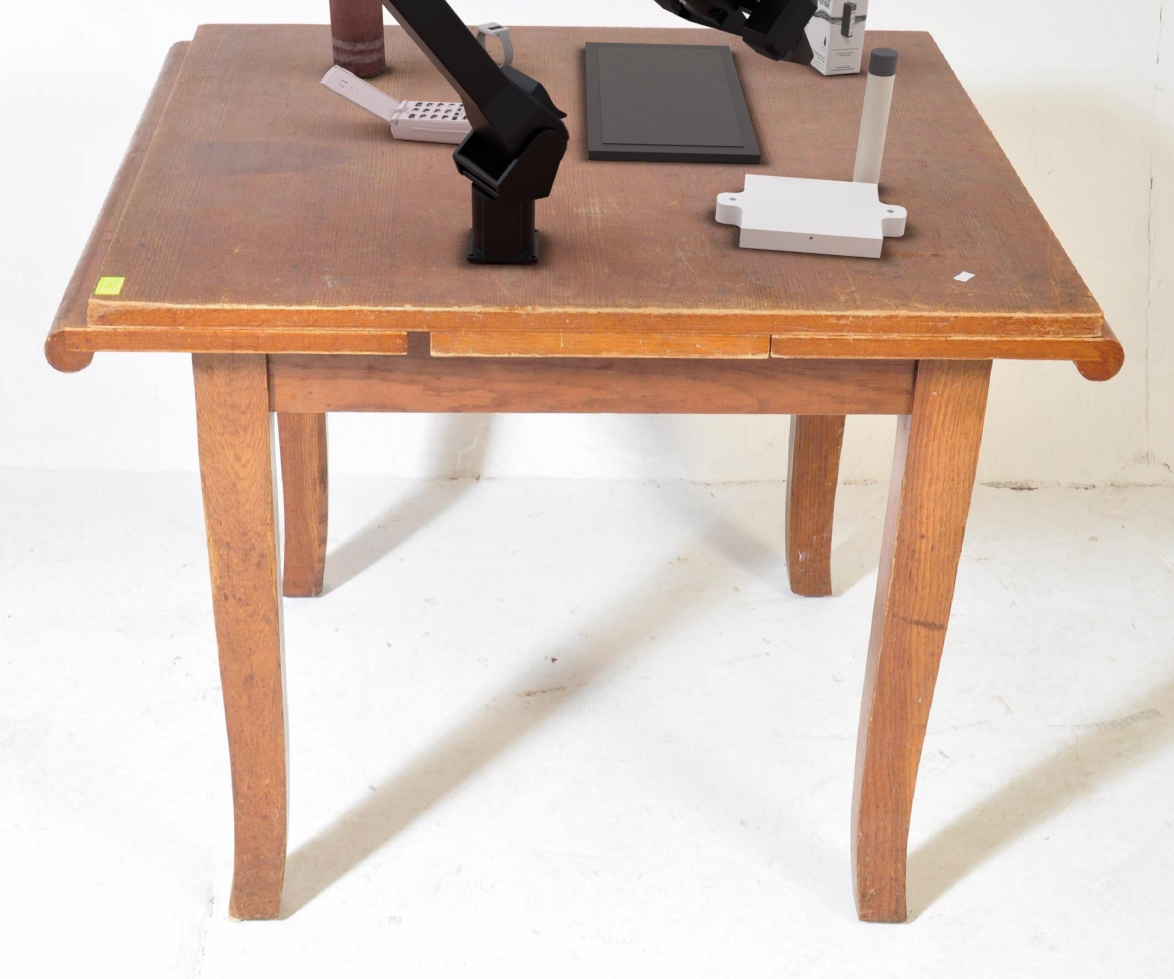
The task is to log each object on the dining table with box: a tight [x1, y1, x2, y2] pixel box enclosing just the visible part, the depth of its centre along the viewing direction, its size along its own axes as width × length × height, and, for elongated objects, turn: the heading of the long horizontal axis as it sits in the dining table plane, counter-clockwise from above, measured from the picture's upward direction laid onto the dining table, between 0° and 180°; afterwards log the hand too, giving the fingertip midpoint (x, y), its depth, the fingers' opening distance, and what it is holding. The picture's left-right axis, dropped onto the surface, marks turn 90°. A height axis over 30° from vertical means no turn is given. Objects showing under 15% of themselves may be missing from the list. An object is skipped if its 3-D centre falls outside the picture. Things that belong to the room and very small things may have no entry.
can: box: [328, 0, 387, 79], centre depth 167 cm, size 6×6×14 cm
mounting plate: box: [715, 173, 908, 259], centre depth 138 cm, size 18×13×2 cm
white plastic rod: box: [851, 47, 899, 189], centre depth 142 cm, size 3×3×14 cm
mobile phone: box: [318, 65, 472, 145], centre depth 153 cm, size 6×6×25 cm
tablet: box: [584, 41, 762, 165], centre depth 165 cm, size 36×18×1 cm, turn 1°
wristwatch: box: [475, 21, 515, 71], centre depth 171 cm, size 6×3×5 cm, turn 39°
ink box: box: [804, 0, 870, 76], centre depth 174 cm, size 8×5×12 cm, turn 17°
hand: (779, 46), depth 137 cm, fingers open, 9 cm apart
